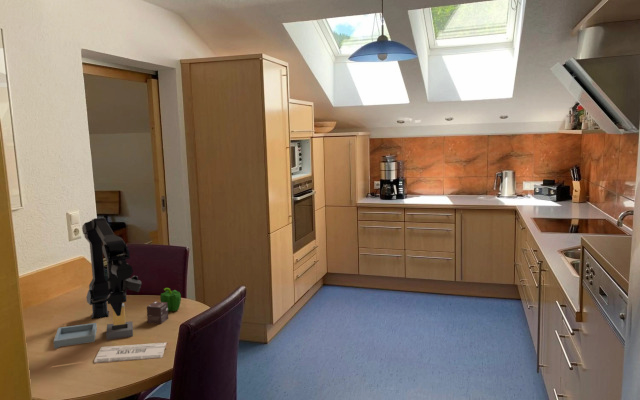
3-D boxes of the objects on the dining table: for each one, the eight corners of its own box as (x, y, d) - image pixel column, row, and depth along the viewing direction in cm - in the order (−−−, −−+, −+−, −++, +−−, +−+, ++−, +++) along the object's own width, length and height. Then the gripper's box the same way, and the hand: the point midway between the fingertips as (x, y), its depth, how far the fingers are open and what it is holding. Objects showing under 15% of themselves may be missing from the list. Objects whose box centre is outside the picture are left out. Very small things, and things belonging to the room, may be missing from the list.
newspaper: (167, 344, 180) (167, 338, 179) (163, 362, 168) (162, 356, 167) (101, 348, 176) (100, 342, 175) (91, 367, 164) (91, 361, 164)
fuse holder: (107, 332, 190) (107, 324, 189) (132, 328, 193) (132, 321, 192) (106, 341, 181) (106, 333, 181) (133, 337, 184) (132, 329, 184)
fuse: (113, 322, 187) (112, 304, 186) (125, 321, 188) (124, 303, 187) (113, 325, 184) (112, 307, 183) (125, 323, 186) (124, 305, 185)
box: (161, 325, 196) (160, 307, 195) (147, 324, 197) (146, 306, 196) (168, 319, 202) (167, 302, 201) (155, 318, 203) (154, 301, 202)
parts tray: (59, 334, 187) (58, 327, 187) (96, 329, 192) (96, 322, 191) (54, 348, 175) (53, 341, 175) (94, 342, 180) (94, 335, 179)
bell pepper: (182, 306, 217) (181, 283, 216) (181, 312, 209) (179, 289, 208) (162, 307, 216) (160, 285, 214) (160, 314, 208) (158, 291, 206)
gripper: (139, 277, 178) (142, 319, 180) (139, 265, 195) (141, 303, 197) (105, 281, 174) (108, 324, 176) (108, 268, 191) (110, 307, 193)
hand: (118, 314), depth 186 cm, fingers closed on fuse, 3 cm apart
